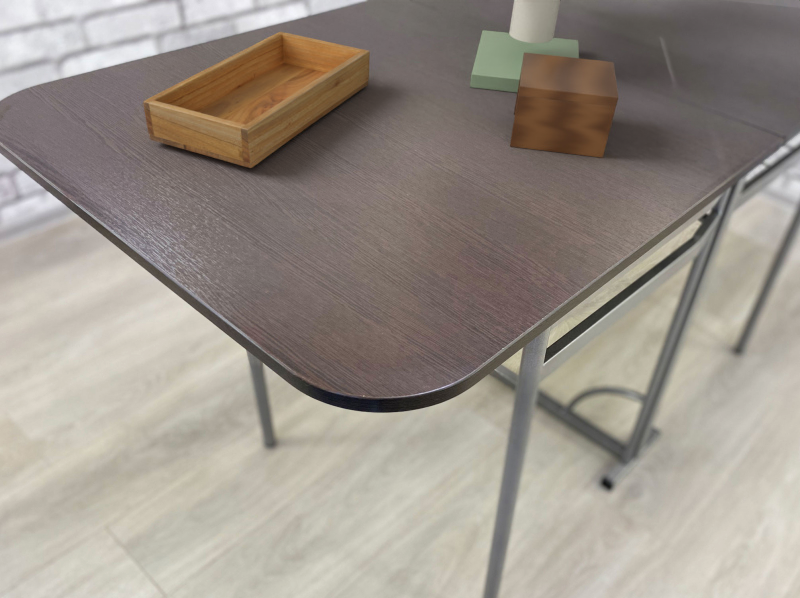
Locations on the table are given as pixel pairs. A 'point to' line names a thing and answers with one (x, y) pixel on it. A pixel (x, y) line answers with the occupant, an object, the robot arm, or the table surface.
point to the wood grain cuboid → (564, 104)
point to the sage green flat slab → (511, 59)
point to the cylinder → (534, 20)
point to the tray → (257, 98)
